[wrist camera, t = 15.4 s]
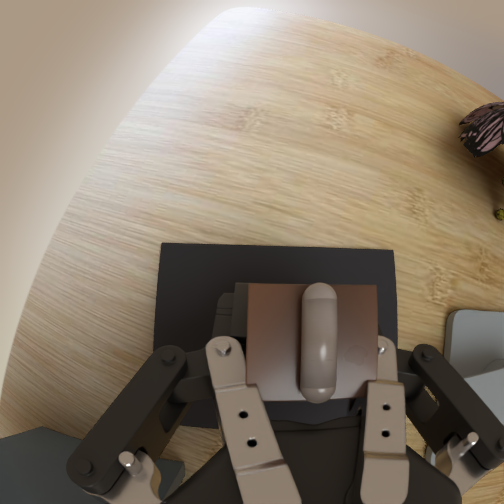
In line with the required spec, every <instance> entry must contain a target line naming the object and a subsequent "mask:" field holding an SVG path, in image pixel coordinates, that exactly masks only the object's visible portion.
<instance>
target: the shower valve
mask: <svg viewBox="0 0 504 504" xmlns="http://www.w3.org/2000/svg"><path fill="white" fill-rule="evenodd" d="M444 358H445V359H446V360H447V361H448V362H449V363H450V364H451V365H452V366H453V368H454V369H455V370H456V371H457V372H458V373H459V374H460V375H461V376H462V378H463V379H464V380H465V381H466V382H467V383H468V384H469V385H470V387H471V388H472V389H473V390H474V391H475V392H476V393H477V395H478V396H479V397H480V398H481V399H482V400H483V402H484V403H485V404H486V405H487V406H488V407H489V409H490V410H491V411H492V412H493V413H494V415H495V416H496V417H497V418H498V419H499V421H500V422H501V423H502V424H503V426H504V312H492V311H478V310H465V309H462V310H458V311H454V312H452V313H451V314H450V315H449V316H448V319H447V323H446V335H445V347H444ZM437 405H438V406H439V402H438V400H437ZM435 456H436V455H435V454H434V453H433V451H432V450H431V448H430V447H429V446H427V449H426V454H425V460H427V461H428V462H429V463H430V464H432V465H433V466H434V465H435Z"/></svg>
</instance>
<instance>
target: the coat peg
mask: <svg viewBox="0 0 504 504" xmlns="http://www.w3.org/2000/svg"><path fill="white" fill-rule="evenodd" d="M377 366H378V304H377V286H376V285H327V284H325V283H315V284H312V285H305V284H259V283H249V285H248V311H247V342H246V375H245V384H254V383H256V384H257V386H258V389H259V392H260V395H261V398H262V400H263V402H292V401H309V402H312V403H323V402H325V401H327V400H338V399H351V398H361V397H363V396H364V392H365V388H366V384H367V380H377Z"/></svg>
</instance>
